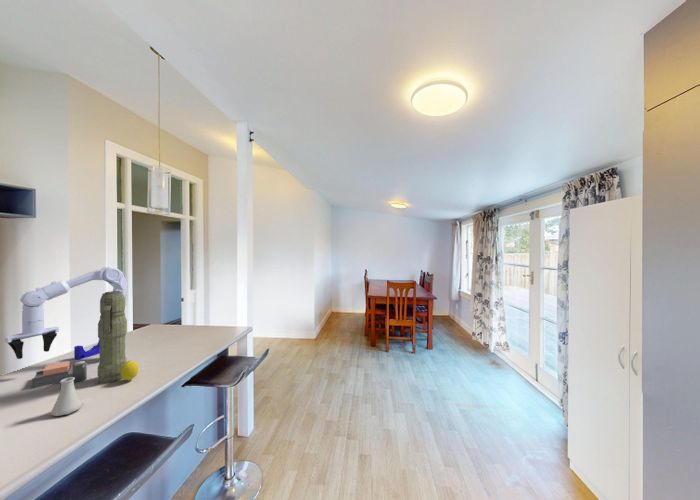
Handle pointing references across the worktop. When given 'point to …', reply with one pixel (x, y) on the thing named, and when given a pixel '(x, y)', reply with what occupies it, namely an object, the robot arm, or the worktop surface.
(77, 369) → the plug
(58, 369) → the orange square block
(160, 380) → the worktop surface
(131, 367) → the lemon
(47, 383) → the socket plate
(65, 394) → the flask
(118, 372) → the green stone statue
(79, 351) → the blue notched block
